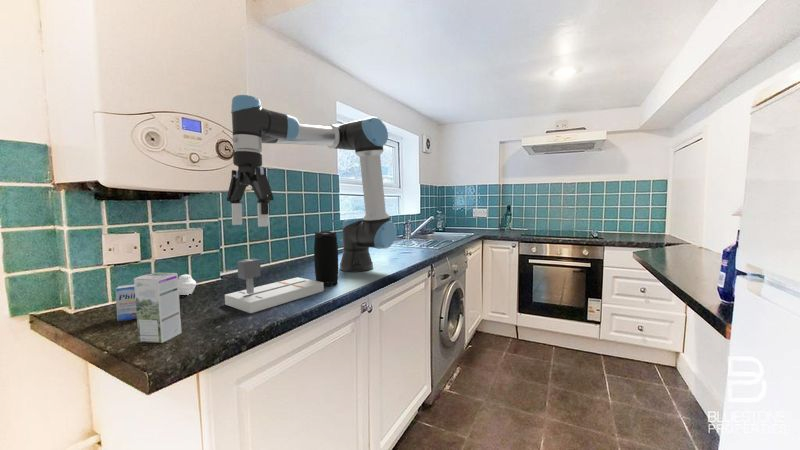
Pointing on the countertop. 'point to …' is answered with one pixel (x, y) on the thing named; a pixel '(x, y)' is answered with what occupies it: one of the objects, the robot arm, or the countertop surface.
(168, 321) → the syrup box
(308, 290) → the fader console
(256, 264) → the fader tab
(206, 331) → the countertop surface
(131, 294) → the medicine box
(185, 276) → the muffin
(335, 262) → the portable speaker
